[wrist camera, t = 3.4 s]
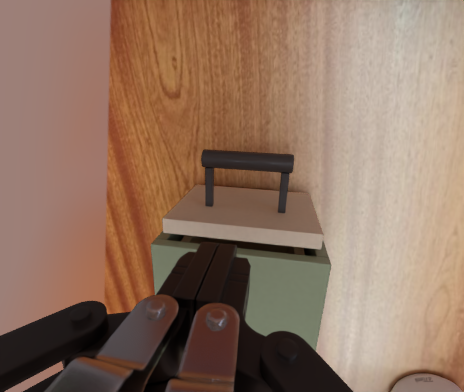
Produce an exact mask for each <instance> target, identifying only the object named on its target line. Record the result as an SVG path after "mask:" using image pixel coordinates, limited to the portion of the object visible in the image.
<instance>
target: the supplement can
mask: <svg viewBox="0 0 464 392" xmlns="http://www.w3.org/2000/svg"><path fill="white" fill-rule="evenodd" d="M391 392H462V391H461V389H460V388H459V387H458V386H457V385H456V384H455V383H453V382H451V381H449V380H447V379H445V378H442V377H440V376H437V375H433V374H428V373H424V374H413V375H409V376H406V377H404V378H402V379H401V380H399V381H398V382H397V383H396V384H395V386H394V387H393V389H392V391H391Z"/></svg>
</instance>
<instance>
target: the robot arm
mask: <svg viewBox="0 0 464 392" xmlns="http://www.w3.org/2000/svg"><path fill="white" fill-rule="evenodd" d="M250 271H251V265H250V263H249V261H248V259H247V258H241V257H237V245H231V244H221V243H220V244H219V243H212V242H201V244H200V246H199V248H198V249H197V251H196V252H187V253H186V254H184V255H183V256H181V257H180V258H179V260H178V261H177V263H176V264H175V267H173V269H172V271H171V273H170V274H169V275H168V277H167V278H166V280H165V281H164V283H163V285H162V286H161V288H160V289H159V291H158V292H157V294H156V295H153V296H149V297H147V298H145V299H143V300H142V301H140V302H139V303H138V304H137V305H136V306H135V307H134V309H133V310H132V311H131V312H126V313H116V314H107V310H106V307H105V305H104V304H102V303H101V302H97V301H85V302H81V303H78V304H75V305H73V306H70V307H68V308H66V309H63V310H61V311H59V312H56V313H54V314H52V315H49V316H46V317H44V318H42V319H39V320H37V321H35V322H32V323H30V324H28V325H25V326H23V327H21V328H18V329H16V330H13V331H11V332H9V333H6V334H4V335H1V336H0V392H4V391H6V390H8V389H9V388H11V387H13V386H15V385H17V384H19V383H21V382H23V381H24V380H26V379H28V378H30V377H32V376H34V375H36V374H38V373H40V372H42V371H44V370H45V369H47V368H49V367H51V366H53V365H55V364H57V363H59V362H60V361H62V364H63V368H64V369H63V370H61V371H60V372H58V373H56V374H54V375H52V376H51V377H49V378H47V379H45V380H43V381H41V382H40V383H38V384H36V385H34V386H32V387H30V388H29V389H27V390H25V391H23V392H353V391H352V390H351V389H350V388H349V387H348V386H347V384H346V383H345V382H344V381H343V380H342V379H341V378H340V377H339V376H338V375H337V374H336V373H335V372H334V371H333V370H332V368H331V367H330V366H329V365H328V364H327V363H326V362H325V361H324V360H323V359H322V358H321V357H320V356H319V355H318V353H317V352H316V351H315V350H314V349H313V348H312V347H311V346H310V345H309V344H308V343H307V342H306V341H305V340H304V339H303V338H302V337H300V336H299V335H297V334H295V333H292V332H288V331H275V332H272V333H270V334H268V335H267V336H264V335H262V334H260V333H258V332H256V331H254V330H253V329H252V328H251V327H250V326H249V325H248V324H247V323H246V321H245V318H246V312H247V305H248V299H249V287H250Z"/></svg>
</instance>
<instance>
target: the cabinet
mask: <svg viewBox="0 0 464 392" xmlns="http://www.w3.org/2000/svg"><path fill="white" fill-rule="evenodd" d="M184 236H185V235H180V234H170V233H163V231H162V232H161V233H160V235H159V236H158V237H157V238H156V239H155V240H154V241H153V242H152V244H151V253H152V265H153V277H154V289H155V295H156V294H157V292H158V291H159V289H160V288H161V286H162V285H163V283H164V281H165V280H166V278H167V277H168V275H169V274H170V273H171V271H172V269H173V267H175V264H176V263H177V261H178V260H179V258H180V257H181V256H183V255H184V254H186V253H187V252H196V251H197V249H198V248H199V246H200V244H197V243H188V242H180V241H181V240H182V239H183V237H184ZM304 253H305V255H297V254H288V253H279V252H270V251H261V250H252V249H243V248H237V257H241V258H247V259H248V261H249V263H250V265H251V271H250V287H249V299H248V305H247V312H246V318H245V321H246V323H247V324H248V325H249V326H250V327H251V328H252V329H253V330H254V331H256V332H258V333H260V334H262V335H264V336H267V335H268V334H270V333H272V332H275V331H288V332H292V333H295V334H297V335H299V336H300V337H302V338H303V339H304V340H305V341H306V342H307V343H308V344H309V345H310V346H311V347H312V348H313V349H314V350H315V351H316V346H317V341H318V335H319V330H320V324H321V319H322V313H323V308H324V302H325V297H326V292H327V286H328V281H329V275H330V270H331V263H330V260H329V257H328V254H327V251H326V248H325V245H324V242H323V241H322V248H321V249H311V248H304Z"/></svg>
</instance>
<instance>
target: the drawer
mask: <svg viewBox="0 0 464 392" xmlns="http://www.w3.org/2000/svg"><path fill="white" fill-rule="evenodd" d="M201 162H202V166H203V167H206V168H205V185H195V186H194V187H193V188H192V189H191V190H190V191H189V192H188V193H187V194H186V195H185V196H184V197H183V198H182V199H181V200H180V201H179V202H178V203H177V204H176V205H175V206H174V207H173V208H172V209H171V210H170V211H169V212H168V213H167V214H166V215H165V216H164V217H163V218H162V223H163V233H170V234H180V235H185V236H184V237H183V239H182V240H181V241H180V242H188V243H197V244H201V242H212V243H219V244H220V243H221V244H231V245H237V248H243V249H252V250H261V251H270V252H279V253H288V254H297V255H305V253H304V248H311V249H321V248H322V241H323V232H322V229H321V226H320V223H319V220H318V218H317V215H316V212H315V209H314V206H313V203H312V200H311V198H310V195H309V193H299V192H288V183H289V173H292V172H293V165H294V155H291V154H274V153H257V152H239V151H222V150H203V152H202V157H201ZM214 168H223V169H238V170H253V171H267V172H281V181H280V191H274V190H261V189H248V188H235V187H222V186H214Z"/></svg>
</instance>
